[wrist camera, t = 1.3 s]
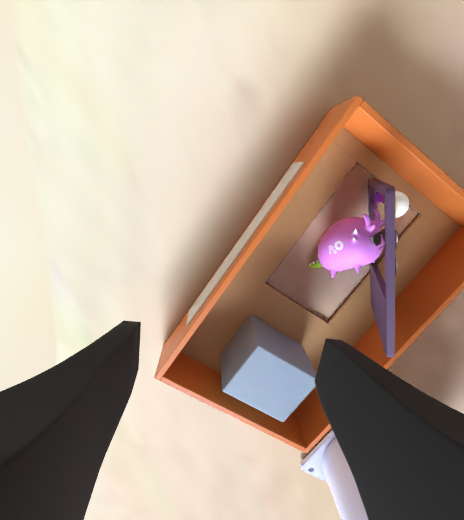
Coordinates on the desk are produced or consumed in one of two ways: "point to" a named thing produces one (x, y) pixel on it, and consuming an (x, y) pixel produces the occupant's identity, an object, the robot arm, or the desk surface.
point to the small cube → (266, 369)
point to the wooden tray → (359, 302)
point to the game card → (369, 253)
